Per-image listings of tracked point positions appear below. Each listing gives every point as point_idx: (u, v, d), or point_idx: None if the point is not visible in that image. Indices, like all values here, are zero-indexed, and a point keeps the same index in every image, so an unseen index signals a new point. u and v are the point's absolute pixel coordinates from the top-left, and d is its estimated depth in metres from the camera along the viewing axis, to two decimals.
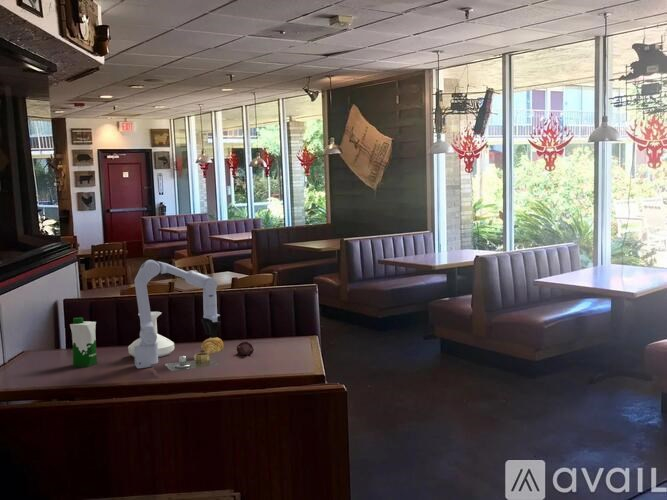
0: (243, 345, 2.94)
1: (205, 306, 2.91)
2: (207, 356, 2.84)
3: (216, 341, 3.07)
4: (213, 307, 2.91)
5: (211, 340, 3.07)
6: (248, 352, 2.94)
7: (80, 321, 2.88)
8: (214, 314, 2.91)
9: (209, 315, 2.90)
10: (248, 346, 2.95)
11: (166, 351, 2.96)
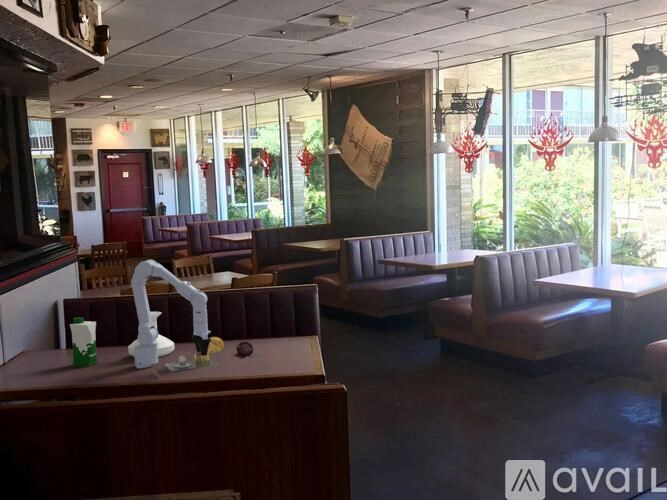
0: (243, 345, 2.95)
1: (195, 323, 2.82)
2: (207, 356, 2.84)
3: (216, 341, 3.07)
4: (203, 324, 2.82)
5: (211, 340, 3.07)
6: (248, 352, 2.94)
7: (80, 321, 2.88)
8: (204, 331, 2.82)
9: (199, 332, 2.81)
10: (248, 346, 2.95)
11: (166, 351, 2.96)
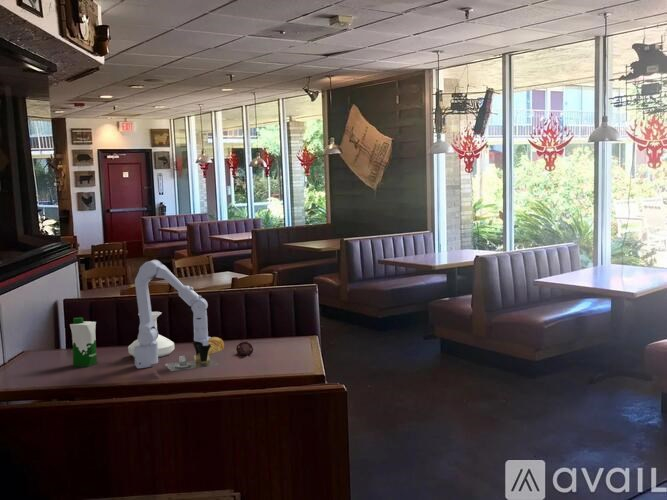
0: (243, 345, 2.95)
1: (195, 329, 2.82)
2: (207, 356, 2.84)
3: (216, 341, 3.07)
4: (204, 330, 2.82)
5: (211, 340, 3.07)
6: (248, 352, 2.94)
7: (80, 321, 2.88)
8: (205, 337, 2.82)
9: (199, 338, 2.81)
10: (248, 346, 2.95)
11: (166, 351, 2.96)
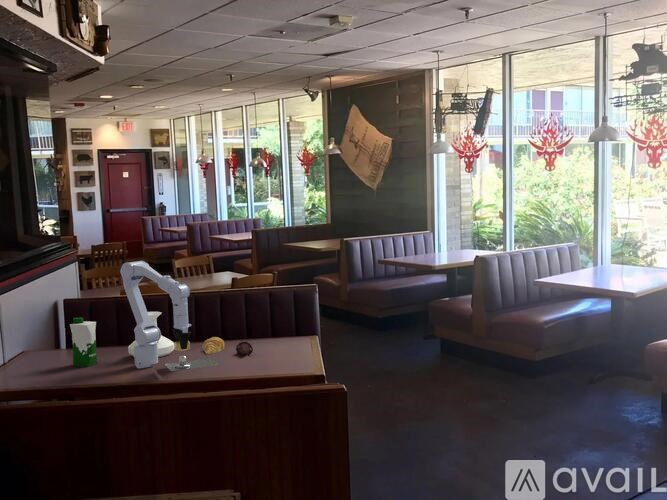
0: (242, 345, 2.95)
1: (175, 316, 2.73)
2: None
3: (217, 341, 3.07)
4: (184, 317, 2.74)
5: (212, 340, 3.07)
6: (247, 352, 2.94)
7: (80, 321, 2.88)
8: (185, 324, 2.74)
9: (179, 325, 2.73)
10: (247, 346, 2.95)
11: (166, 351, 2.96)
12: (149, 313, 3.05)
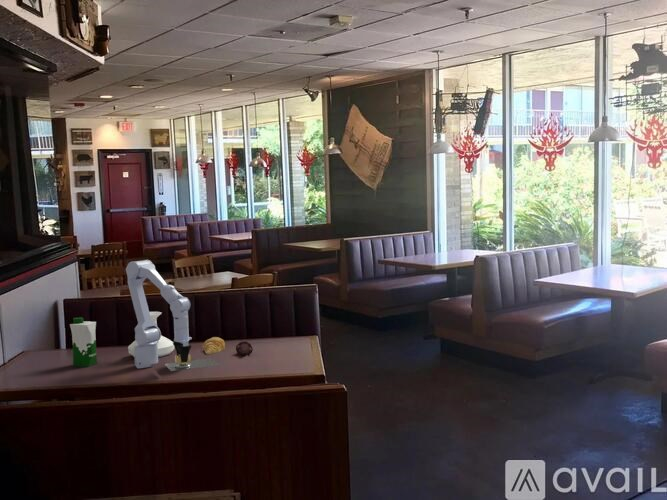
0: (242, 345, 2.95)
1: (176, 329, 2.74)
2: (188, 357, 2.76)
3: (217, 341, 3.07)
4: (184, 330, 2.74)
5: (212, 340, 3.07)
6: (247, 352, 2.94)
7: (80, 321, 2.88)
8: (185, 337, 2.74)
9: (180, 339, 2.73)
10: (247, 346, 2.95)
11: (166, 351, 2.96)
12: None
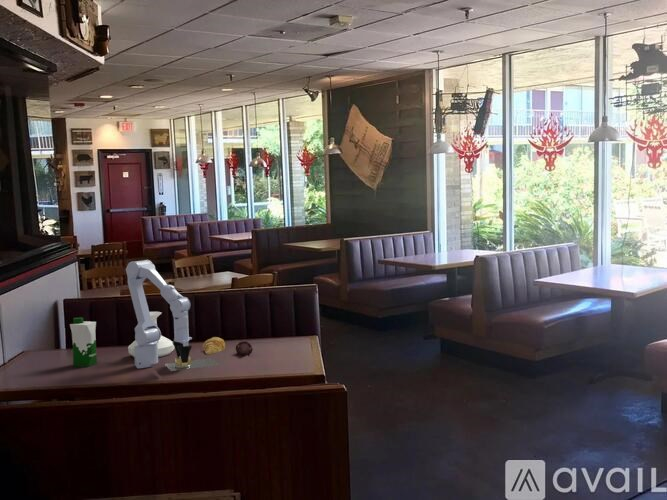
0: (242, 345, 2.95)
1: (176, 329, 2.74)
2: (188, 360, 2.76)
3: (217, 341, 3.06)
4: (184, 330, 2.74)
5: (212, 340, 3.07)
6: (247, 352, 2.95)
7: (80, 321, 2.88)
8: (185, 337, 2.74)
9: (180, 339, 2.73)
10: (247, 346, 2.96)
11: (166, 351, 2.96)
12: None
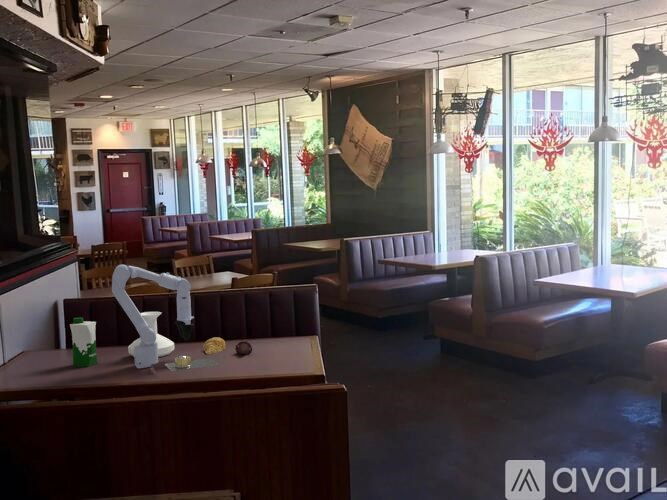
0: (242, 344, 2.96)
1: (178, 308, 2.86)
2: (188, 360, 2.76)
3: (218, 341, 3.06)
4: (187, 309, 2.86)
5: (213, 340, 3.07)
6: (246, 352, 2.95)
7: (80, 321, 2.88)
8: (188, 316, 2.86)
9: (182, 317, 2.85)
10: (247, 346, 2.96)
11: (166, 351, 2.96)
12: (149, 313, 3.05)
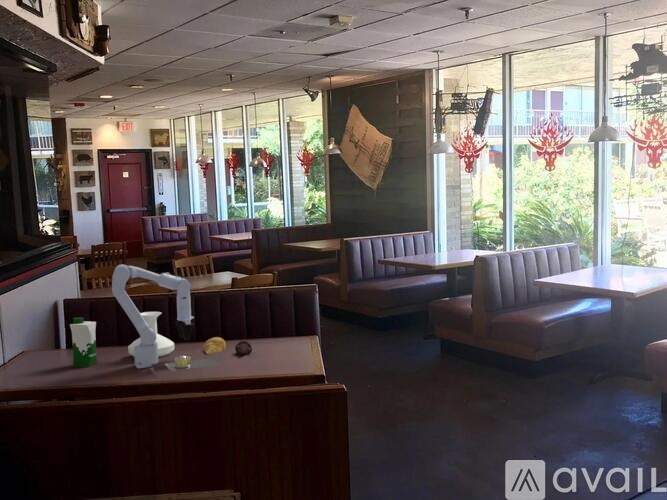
0: (241, 344, 2.96)
1: (179, 308, 2.86)
2: (188, 360, 2.76)
3: (218, 341, 3.06)
4: (187, 309, 2.86)
5: (213, 340, 3.07)
6: (246, 351, 2.95)
7: (80, 321, 2.88)
8: (188, 316, 2.87)
9: (183, 317, 2.86)
10: (246, 345, 2.96)
11: (166, 351, 2.96)
12: (149, 313, 3.05)
